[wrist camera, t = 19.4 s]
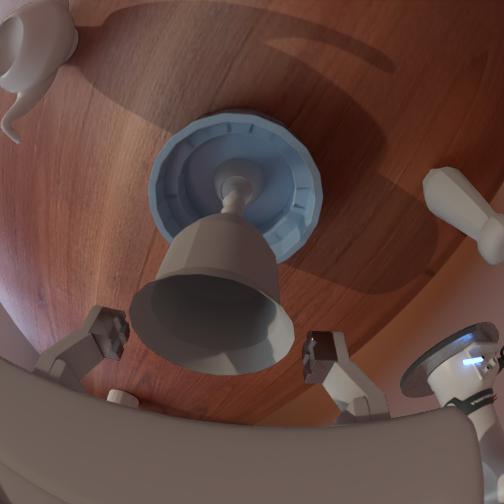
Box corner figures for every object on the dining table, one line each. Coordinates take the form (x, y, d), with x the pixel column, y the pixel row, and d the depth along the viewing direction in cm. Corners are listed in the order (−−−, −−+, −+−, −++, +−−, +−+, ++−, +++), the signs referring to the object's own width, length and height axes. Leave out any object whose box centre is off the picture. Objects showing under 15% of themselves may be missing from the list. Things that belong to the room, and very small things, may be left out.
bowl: (322, 117, 23) (337, 126, 18) (298, 246, 31) (304, 278, 27) (167, 106, 23) (145, 113, 18) (170, 236, 31) (156, 265, 26)
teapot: (27, 127, 22) (-26, 153, 15) (54, -22, 11) (2, -32, 3) (85, 129, 23) (28, 156, 16) (121, -39, 12) (74, -66, 4)
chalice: (193, 201, 28) (128, 351, 13) (212, 138, 24) (132, 249, 9) (261, 223, 29) (261, 385, 14) (287, 164, 25) (324, 305, 10)
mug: (109, 400, 61) (100, 429, 53) (110, 385, 55) (99, 419, 47) (135, 410, 63) (128, 440, 55) (141, 397, 57) (132, 432, 49)
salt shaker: (459, 166, 24) (534, 222, 13) (446, 209, 27) (508, 276, 17) (422, 155, 24) (501, 212, 13) (410, 203, 27) (473, 276, 17)
